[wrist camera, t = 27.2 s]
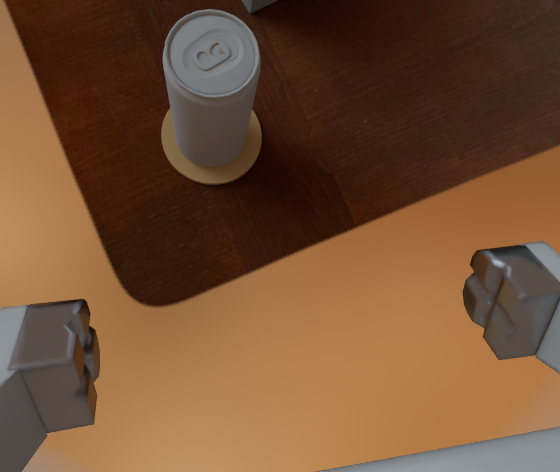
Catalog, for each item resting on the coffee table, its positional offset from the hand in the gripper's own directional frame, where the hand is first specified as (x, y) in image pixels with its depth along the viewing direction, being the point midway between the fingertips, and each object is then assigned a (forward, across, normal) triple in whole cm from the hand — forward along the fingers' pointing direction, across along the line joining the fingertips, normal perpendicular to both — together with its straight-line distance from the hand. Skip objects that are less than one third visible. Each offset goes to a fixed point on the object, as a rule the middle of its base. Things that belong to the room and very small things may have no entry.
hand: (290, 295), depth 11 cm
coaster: (+27, 0, +9) cm, 28 cm away
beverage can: (+26, 0, +9) cm, 28 cm away
